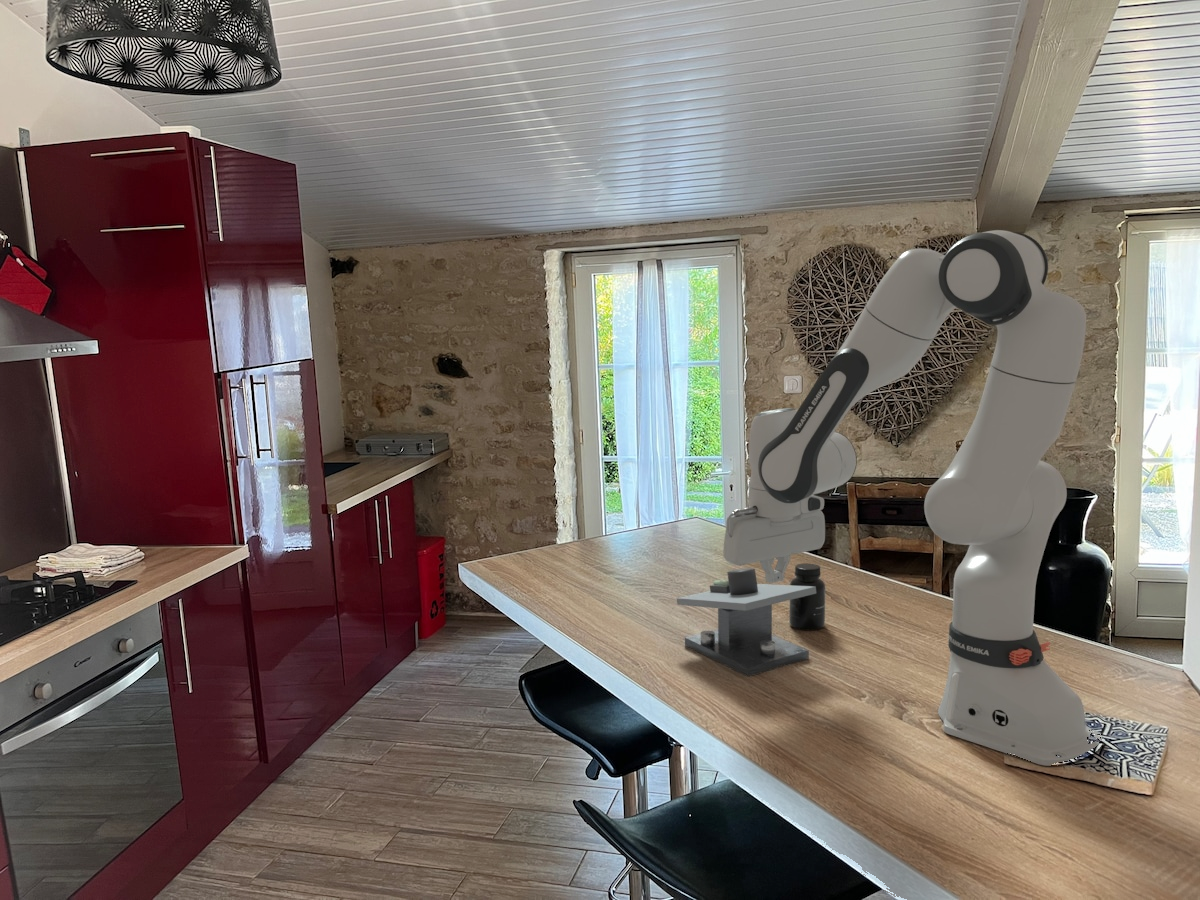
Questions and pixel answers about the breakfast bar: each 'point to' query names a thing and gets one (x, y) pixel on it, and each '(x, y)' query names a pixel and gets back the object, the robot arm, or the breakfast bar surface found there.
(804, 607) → the supplement bottle
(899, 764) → the breakfast bar surface
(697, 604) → the plate
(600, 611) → the breakfast bar surface
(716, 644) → the stand
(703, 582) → the breakfast bar surface
